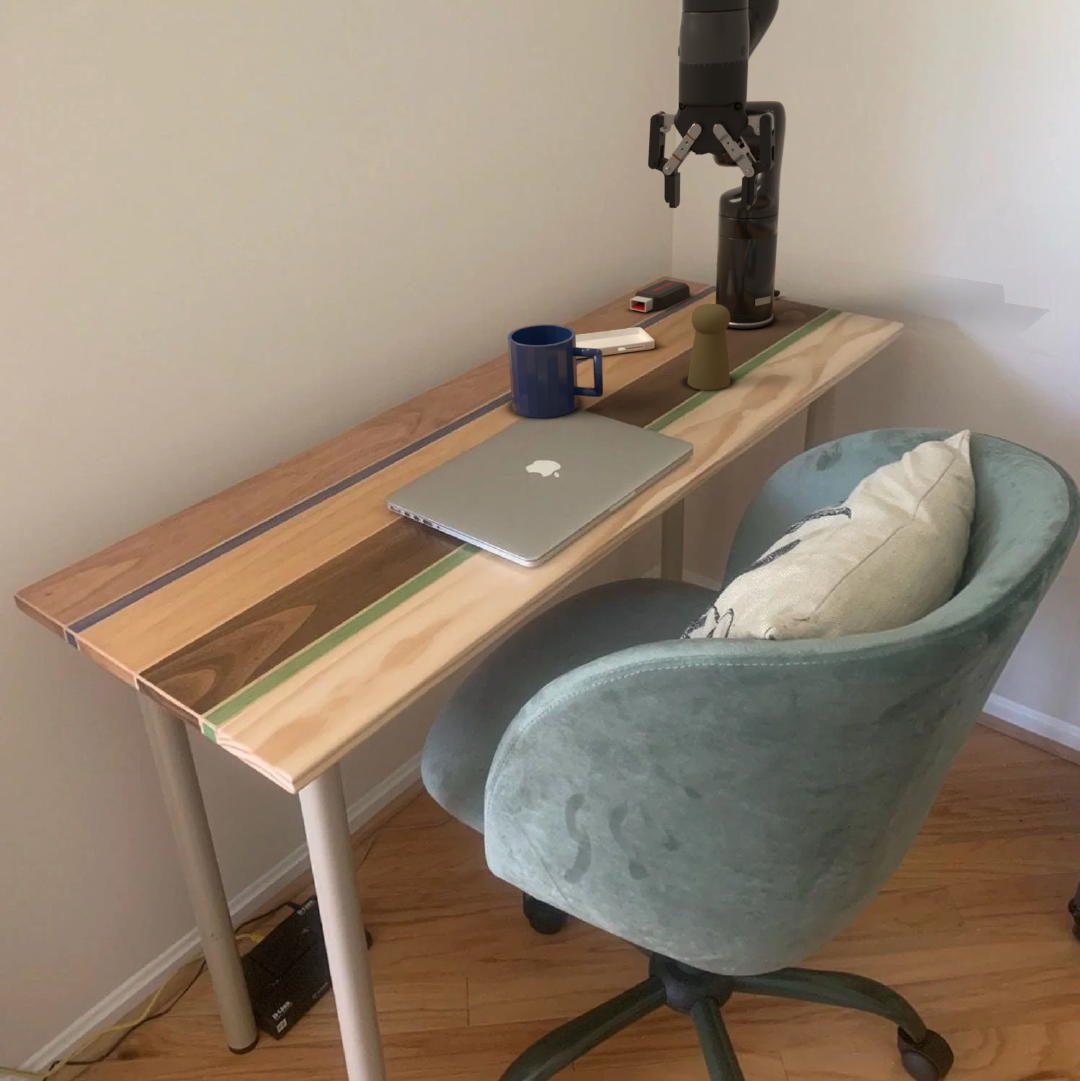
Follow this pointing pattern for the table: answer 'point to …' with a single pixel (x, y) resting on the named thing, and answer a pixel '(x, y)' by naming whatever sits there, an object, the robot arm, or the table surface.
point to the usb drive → (659, 296)
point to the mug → (548, 370)
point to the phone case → (616, 341)
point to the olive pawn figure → (709, 348)
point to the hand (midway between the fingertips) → (709, 207)
